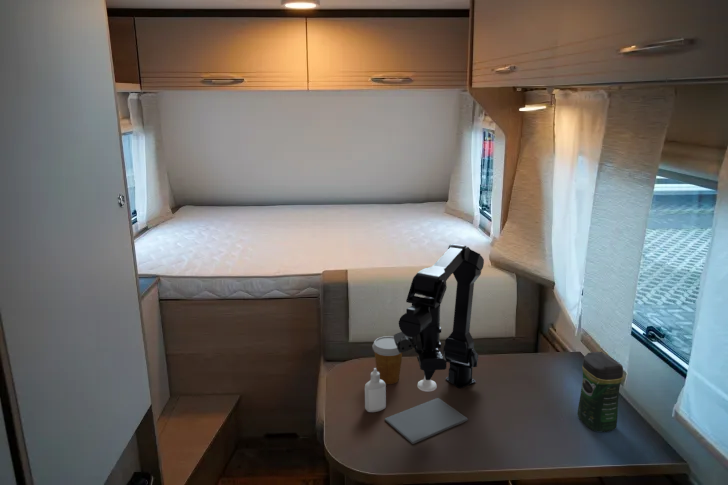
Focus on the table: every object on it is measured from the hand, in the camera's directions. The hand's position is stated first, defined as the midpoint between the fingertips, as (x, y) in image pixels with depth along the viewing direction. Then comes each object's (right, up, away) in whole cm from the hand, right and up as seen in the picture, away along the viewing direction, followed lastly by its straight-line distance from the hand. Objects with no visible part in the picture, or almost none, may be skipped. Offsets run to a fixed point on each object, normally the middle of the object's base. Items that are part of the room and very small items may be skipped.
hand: (427, 377), depth 139 cm
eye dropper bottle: (-13, -11, +9) cm, 19 cm away
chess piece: (0, -3, +1) cm, 3 cm away
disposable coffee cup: (-9, -7, +24) cm, 26 cm away
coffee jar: (+44, -12, +1) cm, 46 cm away
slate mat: (0, -12, +3) cm, 12 cm away
